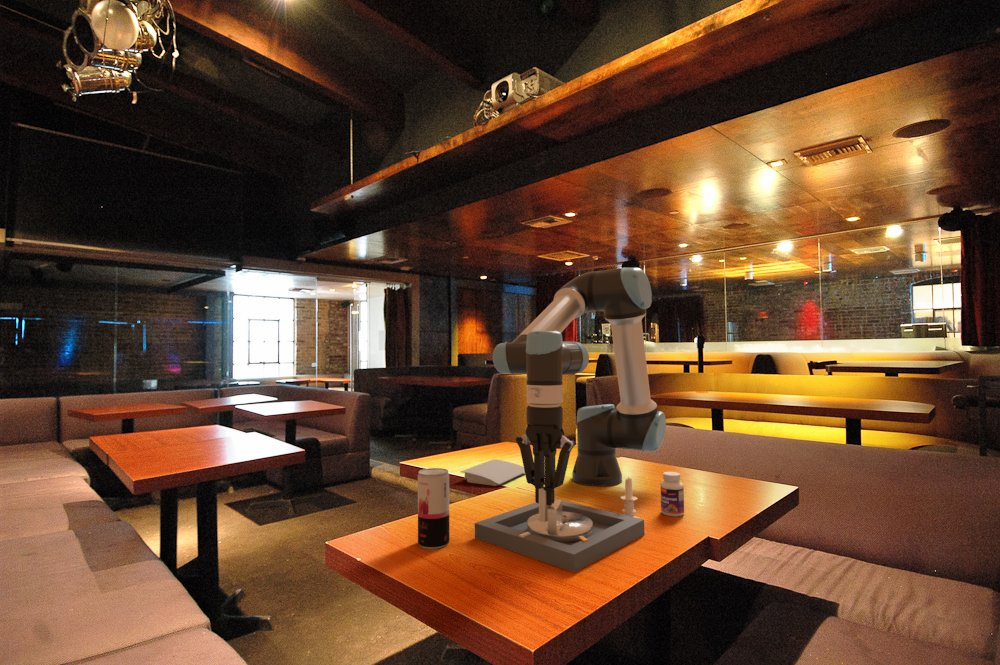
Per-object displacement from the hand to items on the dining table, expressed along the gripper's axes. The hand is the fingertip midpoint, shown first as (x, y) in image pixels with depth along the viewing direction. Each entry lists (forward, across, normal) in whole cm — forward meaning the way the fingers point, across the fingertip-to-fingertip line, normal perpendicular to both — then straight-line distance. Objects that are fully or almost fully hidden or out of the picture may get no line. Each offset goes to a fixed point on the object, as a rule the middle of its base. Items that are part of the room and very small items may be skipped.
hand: (545, 519), depth 106 cm
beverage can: (+6, -20, -11) cm, 24 cm away
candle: (+5, +10, +24) cm, 26 cm away
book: (+6, -42, +43) cm, 60 cm away
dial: (+4, +1, +5) cm, 7 cm away
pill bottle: (+5, +17, +35) cm, 39 cm away
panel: (+5, 0, +6) cm, 8 cm away
